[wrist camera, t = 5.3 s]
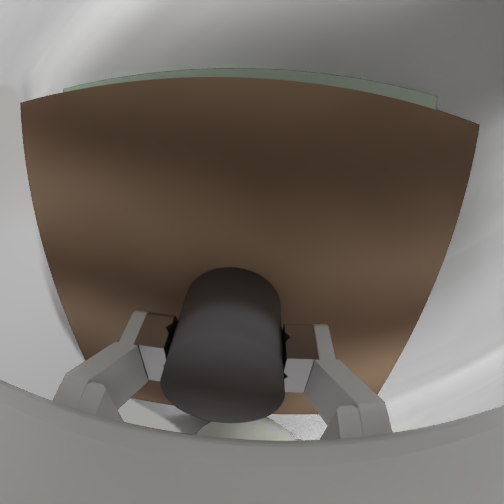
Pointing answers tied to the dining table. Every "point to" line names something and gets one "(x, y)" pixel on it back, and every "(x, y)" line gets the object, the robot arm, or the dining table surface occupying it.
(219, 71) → the mat
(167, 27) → the dining table surface
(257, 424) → the teacup
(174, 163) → the lid
